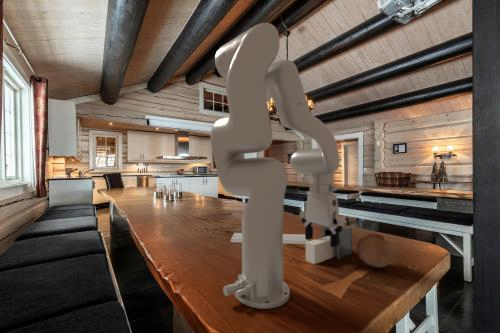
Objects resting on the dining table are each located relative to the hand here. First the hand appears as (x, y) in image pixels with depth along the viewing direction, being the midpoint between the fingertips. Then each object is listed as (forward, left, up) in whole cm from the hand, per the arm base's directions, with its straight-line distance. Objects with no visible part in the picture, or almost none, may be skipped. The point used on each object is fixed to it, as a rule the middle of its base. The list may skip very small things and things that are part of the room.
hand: (320, 242), depth 74 cm
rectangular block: (+2, 0, -5) cm, 6 cm away
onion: (+7, -13, -6) cm, 16 cm away
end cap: (+9, 0, -5) cm, 10 cm away
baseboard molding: (0, +25, -6) cm, 26 cm away
